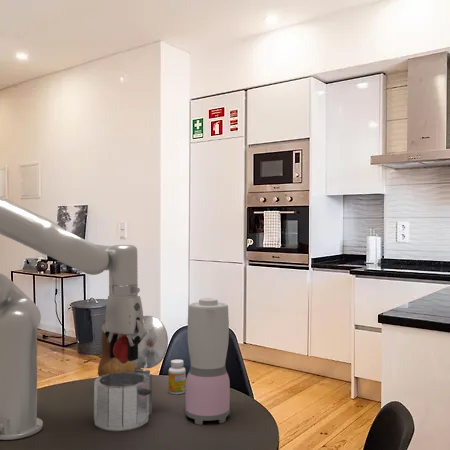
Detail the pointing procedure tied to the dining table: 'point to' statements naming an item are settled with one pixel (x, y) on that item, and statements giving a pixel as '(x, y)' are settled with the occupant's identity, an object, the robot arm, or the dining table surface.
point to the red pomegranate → (121, 349)
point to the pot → (122, 400)
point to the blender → (208, 361)
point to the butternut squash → (112, 360)
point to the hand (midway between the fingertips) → (123, 357)
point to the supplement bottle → (177, 377)
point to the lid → (151, 345)
